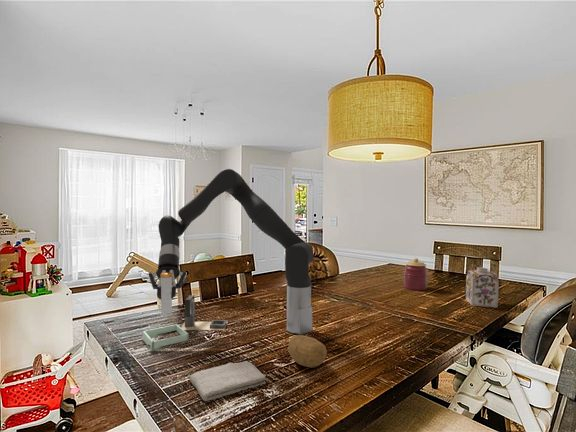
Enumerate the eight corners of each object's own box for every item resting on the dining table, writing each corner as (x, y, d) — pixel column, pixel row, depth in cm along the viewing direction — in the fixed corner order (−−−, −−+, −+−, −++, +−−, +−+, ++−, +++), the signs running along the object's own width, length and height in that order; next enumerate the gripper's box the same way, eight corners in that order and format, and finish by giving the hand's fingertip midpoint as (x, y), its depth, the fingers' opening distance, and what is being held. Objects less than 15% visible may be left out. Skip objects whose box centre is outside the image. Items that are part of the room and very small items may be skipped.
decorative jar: (471, 306, 166) (472, 269, 166) (465, 299, 177) (465, 265, 177) (498, 308, 163) (500, 270, 163) (490, 301, 175) (491, 266, 174)
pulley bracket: (227, 324, 137) (228, 294, 137) (224, 332, 128) (224, 300, 128) (185, 324, 137) (185, 294, 136) (178, 332, 128) (178, 300, 127)
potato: (303, 352, 112) (304, 328, 111) (334, 369, 100) (334, 342, 100) (279, 360, 106) (279, 334, 106) (309, 378, 95) (309, 350, 94)
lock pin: (173, 309, 127) (173, 272, 126) (172, 313, 123) (172, 274, 122) (160, 310, 125) (160, 272, 125) (160, 314, 121) (160, 275, 121)
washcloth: (268, 385, 92) (268, 373, 92) (203, 405, 82) (203, 392, 82) (249, 367, 102) (249, 357, 102) (189, 383, 92) (189, 372, 92)
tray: (188, 342, 118) (188, 334, 118) (152, 351, 111) (152, 342, 111) (176, 332, 128) (176, 324, 128) (142, 339, 121) (142, 330, 121)
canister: (429, 287, 204) (429, 257, 204) (424, 291, 193) (425, 260, 193) (406, 284, 211) (407, 255, 211) (401, 288, 200) (401, 258, 200)
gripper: (148, 253, 129) (143, 293, 117) (187, 252, 132) (186, 291, 121) (150, 264, 134) (146, 304, 123) (188, 263, 138) (187, 302, 126)
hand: (166, 297), depth 122 cm, fingers closed on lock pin, 3 cm apart
